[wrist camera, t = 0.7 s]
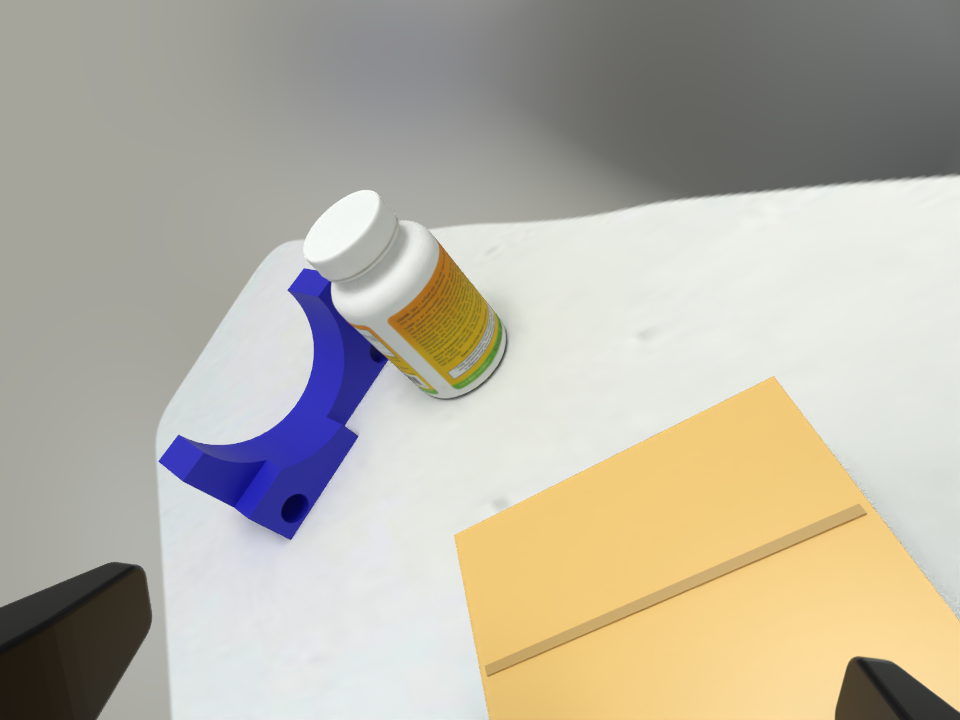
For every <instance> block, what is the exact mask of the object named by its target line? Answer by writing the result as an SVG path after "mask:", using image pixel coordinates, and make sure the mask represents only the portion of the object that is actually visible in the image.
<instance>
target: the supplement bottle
mask: <svg viewBox="0 0 960 720" xmlns="http://www.w3.org/2000/svg"><path fill="white" fill-rule="evenodd" d="M303 253H304V256H305V258H306V260H307V261H308V262H309V263H310V264H311V265H312V266H313V267H314V268H315V269H316V270H317V271H318V272H319V273H320V275H321V276H322V277H324V278H326V279H327V280H329V281H331V282H332V284H331V296H332V301H333V304H334V306H335V308H336V309H337V311H338V312H339V313H340V314H341V315H342V316H343V317H344V319H345V320H346V321H347V322H348V323H349V324H351V325H352V326H353V327H354V328H355V329H356V330H357V331H358V332H359V333H360V334H362V335H363V336H364V337H365V338H366V339H367V340H368V341H369V342H370V343H371V344H372V345H373V346H374V347H376V348H377V350H379V351H380V352H381V353H382V354H383V355H384V356H385V357H386V358H387V359H389V360H390V361H391V362H392V363H393V364H394V365H395V366H396V367H397V368H398V369H399V370H400V371H402V372H403V373H404V374H405V375H406V376H407V377H408V378H409V379H410V380H411V381H412V382H413V383H414V384H416V385H417V386H418V387H419V388H420V389H422V390H423V391H424V392H425V393H427V394H429V395H431V396H433V397H437V398H453V397H457V396H460V395H462V394H465V393H467V392H469V391H471V390H473V389H474V388H476V387H477V386H478V385H480V384H481V383H482V382H483V381H485V380H486V379H487V378H488V377H489V376H490V375H491V373H492V372H493V371H494V370H495V368H496V367H497V365H498V364H499V362H500V360H501V358H502V355H503V353H504V349H505V344H506V332H505V328H504V326H503V323H502V321H501V320H500V318H499V317H498V316H497V314H496V313H495V312H494V310H493V309H492V308H491V307H490V305H489V304H488V303H487V302H486V301H485V299H484V298H483V297H482V296H481V294H480V293H479V292H478V291H477V290H476V288H475V287H474V286H473V284H472V283H471V282H470V281H469V280H468V278H467V277H466V276H465V275H464V273H463V272H462V271H461V270H460V268H459V267H458V266H457V265H456V263H455V262H454V261H453V260H452V258H451V257H450V256H449V255H448V253H447V252H446V251H445V249H444V248H443V247H442V246H441V244H440V243H439V242H438V241H437V239H436V238H435V237H434V236H433V235H432V234H431V233H430V231H428V230H427V229H426V228H425V227H424V226H422V225H420V224H418V223H416V222H412V221H398V218H397V217H396V215H395V214H394V212H393V211H392V209H391V208H390V207H389V206H388V205H387V204H386V202H384V200H383V199H382V198H381V197H380V196H379V195H378V194H377V193H376V192H374V191H371V190H362V191H358V192H355V193H352V194H350V195H348V196H346V197H345V198H343V199H341V200H340V201H338V202H337V203H335V204H334V205H333V206H332V207H330V208H329V209H328V210H327V211H326V212H325V213H324V214H323V215H322V216H321V217H320V218H319V219H318V220H317V221H316V223H315V224H314V225H313V227H312V228H311V230H310V231H309V233H308V235H307V237H306V239H305V242H304V246H303Z"/></svg>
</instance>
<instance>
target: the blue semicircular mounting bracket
mask: <svg viewBox="0 0 960 720" xmlns="http://www.w3.org/2000/svg"><path fill="white" fill-rule="evenodd" d="M331 284H332V282H331V281H329V280H327V279H326V278H324V277H322V276H321V275H320V273H319V272H318V271H317V270H311V269H305V268H304V269H303V270H302V272H301V273H300V274H299V276H298V277H297V278H296V280H295V281H294V282H293V284H292V285H291V286H290V288H289V289H288V291H289V292H290V293H291V294H292V295H293V296H294V297H295V299H296V300H297V301H298V302H299V304H300V305H301V307H302V308H303V310H304V312H305V314H306V316H307V318H308V321H309V323H310V326H311V330H312V334H313V341H314V360H313V367H312V371H311V375H310V378H309V381H308V384H307V386H306V388H305V391H304V393H303V395H302V396H301V398H300V400H299V401H298V403H297V404H296V406H295V407H294V408H293V409H292V411H291V412H290V413H289V414H288V415H287V416H286V417H285V418H284V419H283V420H282V421H281V422H280V423H278V424H277V425H276V426H275V427H273V428H272V429H270V430H269V431H267V432H265V433H264V434H262V435H260V436H258V437H255V438H253V439H251V440H248V441H244V442H241V443H236V444H230V445H209V444H203V443H198V442H195V441H192V440H189V439H186V438H184V437H182V436H180V435H178V436H177V437H176V439H175V440H174V441H173V443H172V444H171V445H170V447H169V448H168V449H167V451H166V452H165V453H164V455H163V456H162V457H161V459H160V460H159V462H160V463H161V464H162V465H163V466H165V467H166V468H167V469H168V470H170V471H171V472H172V473H173V474H174V475H176V476H177V477H178V478H179V479H181V480H182V481H183V482H185V483H187V484H189V485H191V486H193V487H195V488H197V489H199V490H201V491H203V492H205V493H207V494H209V495H211V496H213V497H215V498H217V499H219V500H220V501H222V502H224V503H226V504H228V505H230V506H232V507H234V508H235V509H237V510H238V511H239V512H241V513H242V514H243V515H244V516H246V517H247V518H248V519H250V520H252V521H254V522H256V523H258V524H260V525H262V526H264V527H266V528H268V529H270V530H272V531H274V532H276V533H278V534H280V535H282V536H284V537H286V538H288V539H290V540H291V539H292V538H293V536H294V534H295V533H296V531H297V530H298V528H299V527H300V525H301V524H302V522H303V521H304V519H305V518H306V516H307V515H308V513H309V511H310V510H311V508H312V507H313V505H314V504H315V502H316V501H317V499H318V498H319V496H320V495H321V493H322V492H323V490H324V488H325V487H326V485H327V484H328V482H329V481H330V479H331V478H332V476H333V475H334V473H335V472H336V470H337V469H338V467H339V465H340V464H341V462H342V461H343V459H344V458H345V456H346V455H347V453H348V452H349V450H350V449H351V447H352V446H353V444H354V442H355V441H356V439H357V438H358V436H357V435H356V434H355V433H353V432H352V431H350V430H349V429H348V428H346V427H345V424H346V423H347V421H348V420H349V418H350V417H351V415H352V414H353V412H354V411H355V409H356V408H357V406H358V405H359V403H360V402H361V400H362V399H363V397H364V396H365V394H366V393H367V391H368V389H369V388H370V386H371V385H372V383H373V382H374V380H375V379H376V377H377V376H378V374H379V373H380V371H381V370H382V368H383V367H384V365H385V364H386V362H387V361H388V359H387V358H386V357H385V356H384V355H383V354H382V353H381V352H380V351H379V350H377V348H376V347H374V346H373V345H372V344H371V343H370V342H369V341H368V340H367V339H366V338H365V337H364V336H363V335H362V334H360V333H359V332H358V331H357V330H356V329H355V328H354V327H353V326H352V325H351V324H349V323H348V322H347V321H346V320H345V319H344V317H343V316H342V315H341V314H340V313H339V312H338V311H337V309H336V308H335V306H334V304H333V301H332V296H331Z"/></svg>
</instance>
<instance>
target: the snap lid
mask: <svg viewBox="0 0 960 720" xmlns="http://www.w3.org/2000/svg"><path fill="white" fill-rule="evenodd" d="M454 537H455V542H456V547H457V553H458V558H459V563H460V568H461V574H462V579H463V584H464V589H465V595H466V600H467V605H468V610H469V615H470V621H471V626H472V631H473V636H474V642H475V647H476V652H477V657H478V663H479V668H480V673H481V678H482V683H483V689H484V694H485V699H486V704H487V710H488V715H489V720H835V709H836V704H837V701H838V697H839V693H840V690H841V686H842V682H843V678H844V675H845V671H846V667H847V665H848V662H849V661H850V660H851V658H853V657H856V656H862V657H870V658H878V659H885V660H889V661H892V662H894V663H895V664H897V665H898V666H900V667H901V668H902V669H904V670H905V671H906V672H907V673H909V674H910V675H911V676H913V677H914V678H915V679H917V680H918V681H919V682H921V683H922V684H923V685H924V686H926V687H927V688H928V689H930V690H931V691H932V692H934V693H935V694H936V695H938V696H939V697H940V698H941V699H943V700H944V701H945V702H947V703H948V704H949V705H951V706H952V707H953V708H955V709H956V710H957V711H959V712H960V621H959V619H958V618H957V617H956V615H955V614H954V613H953V611H952V610H951V609H950V608H949V606H948V605H947V604H946V602H945V601H944V600H943V598H942V597H941V596H940V594H939V593H938V592H937V590H936V589H935V588H934V586H933V585H932V584H931V583H930V581H929V580H928V579H927V577H926V576H925V575H924V573H923V572H922V571H921V569H920V568H919V567H918V565H917V564H916V563H915V561H914V560H913V559H912V557H911V556H910V555H909V554H908V552H907V551H906V550H905V548H904V547H903V546H902V544H901V543H900V542H899V540H898V539H897V538H896V536H895V535H894V534H893V532H892V531H891V530H890V529H889V527H888V526H887V525H886V523H885V522H884V521H883V519H882V518H881V517H880V515H879V514H878V513H877V511H876V510H875V509H874V507H873V506H872V505H871V504H870V502H869V501H868V500H867V498H866V497H865V496H864V494H863V493H862V492H861V490H860V489H859V488H858V486H857V485H856V484H855V482H854V481H853V480H852V479H851V477H850V476H849V475H848V473H847V472H846V471H845V469H844V468H843V467H842V465H841V464H840V463H839V461H838V460H837V459H836V457H835V456H834V455H833V454H832V452H831V451H830V450H829V448H828V447H827V446H826V444H825V443H824V442H823V440H822V439H821V438H820V436H819V435H818V434H817V432H816V431H815V430H814V428H813V427H812V426H811V425H810V423H809V422H808V421H807V419H806V418H805V417H804V415H803V414H802V413H801V411H800V410H799V409H798V407H797V406H796V405H795V403H794V402H793V401H792V400H791V398H790V397H789V396H788V394H787V393H786V392H785V390H784V389H783V388H782V386H781V385H780V384H779V382H778V381H777V380H776V378H775V377H774V376H773V377H771V378H769V379H767V380H765V381H763V382H761V383H759V384H757V385H755V386H753V387H751V388H749V389H747V390H745V391H743V392H741V393H739V394H737V395H735V396H733V397H731V398H729V399H727V400H725V401H723V402H721V403H719V404H717V405H715V406H713V407H711V408H709V409H707V410H705V411H703V412H701V413H699V414H697V415H695V416H693V417H691V418H689V419H687V420H685V421H683V422H681V423H679V424H677V425H675V426H673V427H671V428H669V429H667V430H664V431H662V432H660V433H658V434H656V435H654V436H652V437H650V438H648V439H646V440H644V441H642V442H640V443H638V444H636V445H634V446H632V447H630V448H628V449H626V450H624V451H622V452H620V453H618V454H616V455H614V456H612V457H610V458H608V459H606V460H604V461H602V462H600V463H598V464H596V465H594V466H592V467H590V468H588V469H586V470H584V471H582V472H580V473H578V474H576V475H574V476H572V477H570V478H568V479H566V480H564V481H562V482H560V483H558V484H556V485H554V486H552V487H550V488H548V489H546V490H544V491H542V492H540V493H538V494H536V495H534V496H532V497H530V498H528V499H526V500H524V501H522V502H520V503H518V504H516V505H514V506H512V507H510V508H508V509H506V510H504V511H502V512H500V513H498V514H496V515H494V516H492V517H490V518H488V519H486V520H484V521H482V522H480V523H478V524H476V525H474V526H472V527H470V528H468V529H466V530H464V531H462V532H460V533H458V534H456V535H454Z"/></svg>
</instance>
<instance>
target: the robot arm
mask: <svg viewBox="0 0 960 720" xmlns="http://www.w3.org/2000/svg"><path fill="white" fill-rule="evenodd" d="M151 622H152V610H151V603H150V597H149V591H148V585H147V578H146V573H145V571H144V570H143V568H142V567H141V566H138V565H135V564H127V563H119V562H111V563H107V564H105V565H102V566H100V567H97V568H95V569H93V570H90V571H88V572H86V573H83V574H80V575H78V576H76V577H73V578H71V579H68V580H66V581H64V582H61V583H59V584H56V585H54V586H51V587H49V588H47V589H44V590H42V591H39V592H37V593H35V594H32V595H30V596H27V597H25V598H22V599H20V600H17V601H15V602H13V603H10V604H8V605H5V606H3V607H1V608H0V720H97V718H98V717H99V715H100V713H101V712H102V710H103V708H104V707H105V705H106V703H107V702H108V700H109V698H110V697H111V695H112V693H113V691H114V690H115V688H116V686H117V685H118V683H119V681H120V680H121V678H122V676H123V675H124V673H125V671H126V670H127V668H128V666H129V665H130V663H131V661H132V659H133V658H134V656H135V655H136V653H137V651H138V649H139V648H140V646H141V644H142V643H143V641H144V639H145V638H146V636H147V634H148V632H149V629H150V626H151ZM835 720H960V712H959V711H957V710H956V709H955V708H953V707H952V706H951V705H949V704H948V703H947V702H945V701H944V700H943V699H941V698H940V697H939V696H938V695H936V694H935V693H934V692H932V691H931V690H930V689H928V688H927V687H926V686H924V685H923V684H922V683H921V682H919V681H918V680H917V679H915V678H914V677H913V676H911V675H910V674H909V673H907V672H906V671H905V670H904V669H902V668H901V667H900V666H898V665H897V664H895V663H894V662H892V661H889V660H885V659H878V658H870V657H862V656H856V657H853V658H851V660H850V661H849V662H848V665H847V667H846V671H845V675H844V678H843V682H842V686H841V690H840V693H839V697H838V701H837V704H836V709H835Z"/></svg>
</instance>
